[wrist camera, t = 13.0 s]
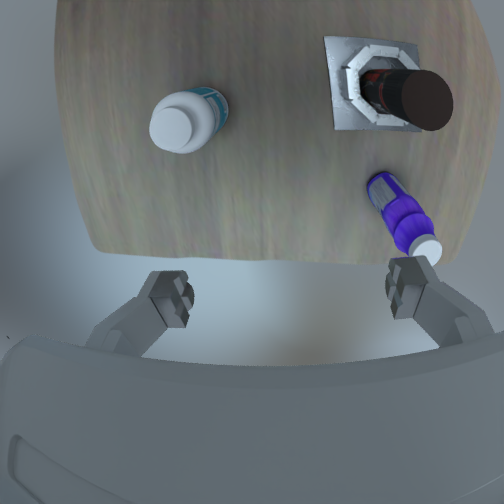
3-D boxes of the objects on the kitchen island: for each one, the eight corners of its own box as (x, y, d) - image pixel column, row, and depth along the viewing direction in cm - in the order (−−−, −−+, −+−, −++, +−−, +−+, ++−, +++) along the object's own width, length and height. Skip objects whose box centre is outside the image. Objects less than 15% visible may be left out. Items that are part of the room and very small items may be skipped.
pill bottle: (171, 118, 36) (126, 141, 25) (197, 77, 32) (157, 81, 21) (212, 143, 38) (181, 175, 27) (240, 104, 34) (219, 118, 23)
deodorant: (401, 80, 27) (460, 90, 15) (389, 114, 31) (441, 141, 19) (364, 62, 27) (411, 58, 15) (353, 98, 31) (393, 114, 19)
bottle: (358, 183, 39) (395, 250, 25) (386, 162, 36) (437, 220, 22) (381, 214, 41) (417, 287, 28) (407, 196, 39) (455, 262, 25)
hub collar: (323, 37, 26) (329, 31, 22) (415, 45, 24) (432, 43, 19) (334, 129, 34) (341, 137, 30) (419, 131, 32) (436, 140, 28)
